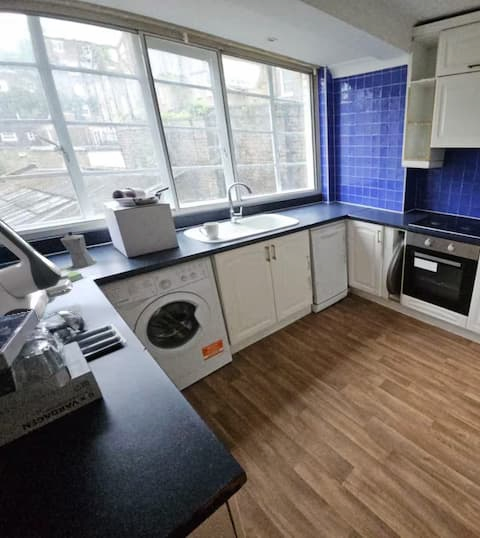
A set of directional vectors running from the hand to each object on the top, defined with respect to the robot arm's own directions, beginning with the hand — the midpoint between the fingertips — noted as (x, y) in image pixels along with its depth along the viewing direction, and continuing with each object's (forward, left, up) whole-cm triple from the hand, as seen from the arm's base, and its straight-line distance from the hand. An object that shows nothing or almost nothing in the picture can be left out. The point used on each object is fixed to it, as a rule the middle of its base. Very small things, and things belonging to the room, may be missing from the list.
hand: (36, 286), depth 108 cm
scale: (+15, +31, -10) cm, 36 cm away
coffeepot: (+32, +46, -10) cm, 57 cm away
